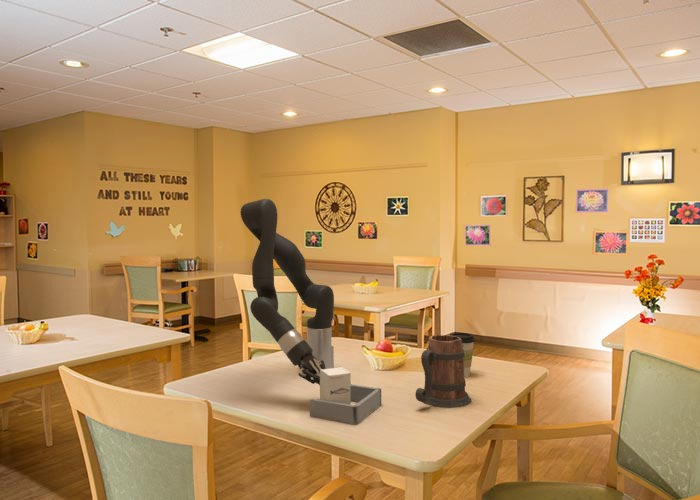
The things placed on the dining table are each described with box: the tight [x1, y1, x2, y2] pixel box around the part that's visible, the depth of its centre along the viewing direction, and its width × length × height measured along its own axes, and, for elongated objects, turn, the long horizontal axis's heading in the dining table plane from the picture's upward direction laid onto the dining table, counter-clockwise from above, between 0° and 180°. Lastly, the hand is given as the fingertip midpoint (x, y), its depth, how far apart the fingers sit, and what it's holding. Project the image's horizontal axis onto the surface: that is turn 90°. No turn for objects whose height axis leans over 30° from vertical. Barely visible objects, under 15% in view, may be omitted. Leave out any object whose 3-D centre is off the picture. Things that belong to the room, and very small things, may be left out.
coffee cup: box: [449, 332, 476, 378], centre depth 199 cm, size 10×10×15 cm
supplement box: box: [319, 366, 352, 405], centre depth 160 cm, size 7×7×13 cm
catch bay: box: [309, 384, 382, 426], centre depth 162 cm, size 15×18×5 cm
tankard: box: [415, 334, 472, 409], centre depth 170 cm, size 24×17×20 cm
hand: (329, 390), depth 165 cm, fingers closed
